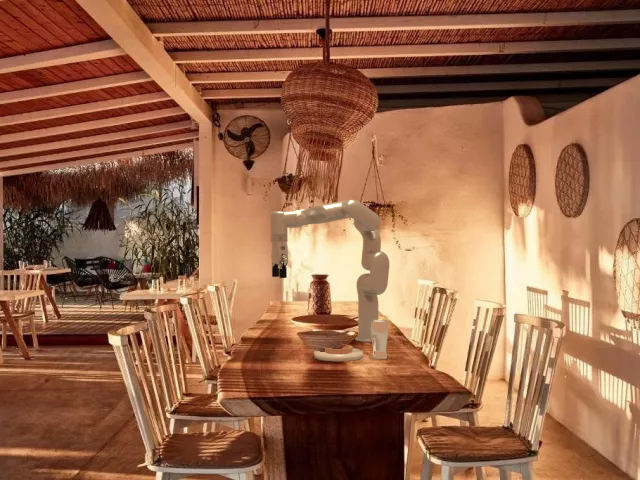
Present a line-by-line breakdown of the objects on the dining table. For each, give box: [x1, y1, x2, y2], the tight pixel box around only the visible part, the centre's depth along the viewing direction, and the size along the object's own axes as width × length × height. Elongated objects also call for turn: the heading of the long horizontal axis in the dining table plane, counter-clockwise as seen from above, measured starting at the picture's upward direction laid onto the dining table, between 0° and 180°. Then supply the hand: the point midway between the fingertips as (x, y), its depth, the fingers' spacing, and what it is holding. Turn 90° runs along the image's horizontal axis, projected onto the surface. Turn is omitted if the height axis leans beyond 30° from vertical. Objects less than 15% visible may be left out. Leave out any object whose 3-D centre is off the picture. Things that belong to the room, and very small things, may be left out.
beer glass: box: [371, 319, 389, 360], centre depth 244 cm, size 7×7×15 cm
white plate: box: [313, 344, 364, 362], centre depth 246 cm, size 20×20×4 cm
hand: (279, 277), depth 269 cm, fingers open, 9 cm apart
